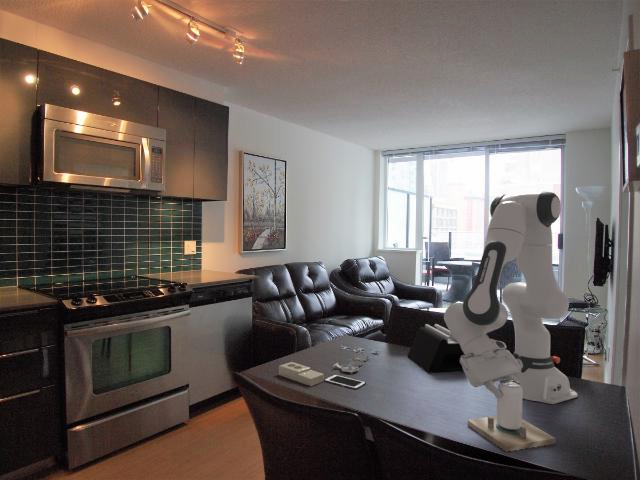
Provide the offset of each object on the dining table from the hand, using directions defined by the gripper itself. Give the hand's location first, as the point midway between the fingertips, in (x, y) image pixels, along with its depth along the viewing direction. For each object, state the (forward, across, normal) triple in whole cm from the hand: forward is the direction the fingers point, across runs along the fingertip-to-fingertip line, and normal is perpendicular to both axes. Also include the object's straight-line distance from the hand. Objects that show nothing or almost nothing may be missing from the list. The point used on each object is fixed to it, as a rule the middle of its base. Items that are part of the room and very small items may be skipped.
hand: (509, 394), depth 119 cm
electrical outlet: (-40, -28, +58) cm, 76 cm away
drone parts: (-48, +1, +65) cm, 81 cm away
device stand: (-30, +33, +46) cm, 64 cm away
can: (+6, 0, +6) cm, 9 cm away
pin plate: (+8, 0, +8) cm, 11 cm away
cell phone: (-32, -16, +49) cm, 60 cm away
